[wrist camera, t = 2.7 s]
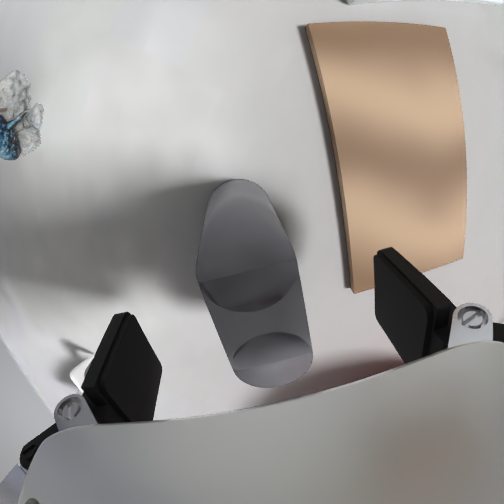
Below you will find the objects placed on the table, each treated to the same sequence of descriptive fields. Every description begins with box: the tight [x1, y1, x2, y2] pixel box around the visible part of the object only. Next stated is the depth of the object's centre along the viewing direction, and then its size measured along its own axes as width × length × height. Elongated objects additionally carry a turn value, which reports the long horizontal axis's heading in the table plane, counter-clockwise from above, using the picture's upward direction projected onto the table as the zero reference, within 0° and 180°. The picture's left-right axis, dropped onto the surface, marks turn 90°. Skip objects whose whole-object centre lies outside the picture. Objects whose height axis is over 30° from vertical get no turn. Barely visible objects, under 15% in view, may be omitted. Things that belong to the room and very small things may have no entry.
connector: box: [196, 179, 313, 388], centre depth 13 cm, size 9×3×6 cm, turn 13°
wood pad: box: [305, 22, 467, 294], centre depth 13 cm, size 14×8×1 cm, turn 13°
